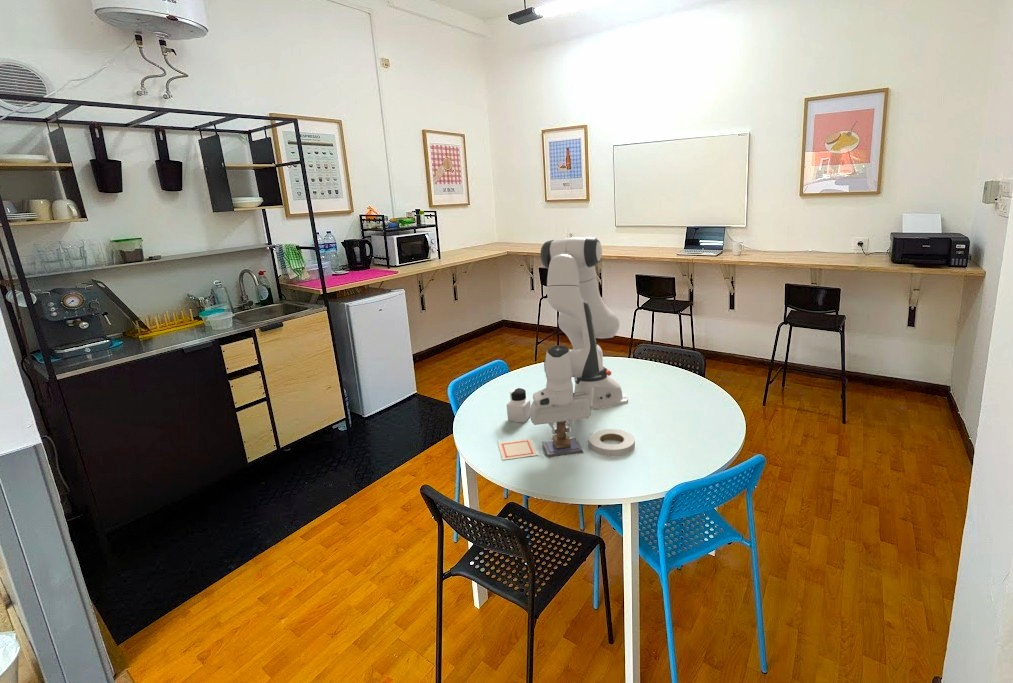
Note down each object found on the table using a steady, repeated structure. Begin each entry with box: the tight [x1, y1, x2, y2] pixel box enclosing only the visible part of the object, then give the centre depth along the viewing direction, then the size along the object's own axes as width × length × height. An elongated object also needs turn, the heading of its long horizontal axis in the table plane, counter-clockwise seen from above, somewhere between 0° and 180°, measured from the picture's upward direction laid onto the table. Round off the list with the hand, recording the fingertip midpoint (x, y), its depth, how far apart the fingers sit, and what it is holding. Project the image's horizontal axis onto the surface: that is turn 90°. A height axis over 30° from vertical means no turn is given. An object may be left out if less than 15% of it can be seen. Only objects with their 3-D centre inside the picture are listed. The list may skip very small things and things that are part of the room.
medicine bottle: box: [506, 387, 531, 424], centre depth 199 cm, size 7×7×12 cm
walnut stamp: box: [552, 421, 571, 450], centre depth 174 cm, size 5×5×11 cm
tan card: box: [497, 438, 539, 461], centre depth 178 cm, size 12×12×1 cm
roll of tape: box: [588, 428, 636, 458], centre depth 176 cm, size 16×15×3 cm
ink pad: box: [541, 437, 584, 459], centre depth 176 cm, size 12×9×2 cm
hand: (561, 432), depth 174 cm, fingers closed on walnut stamp, 3 cm apart
